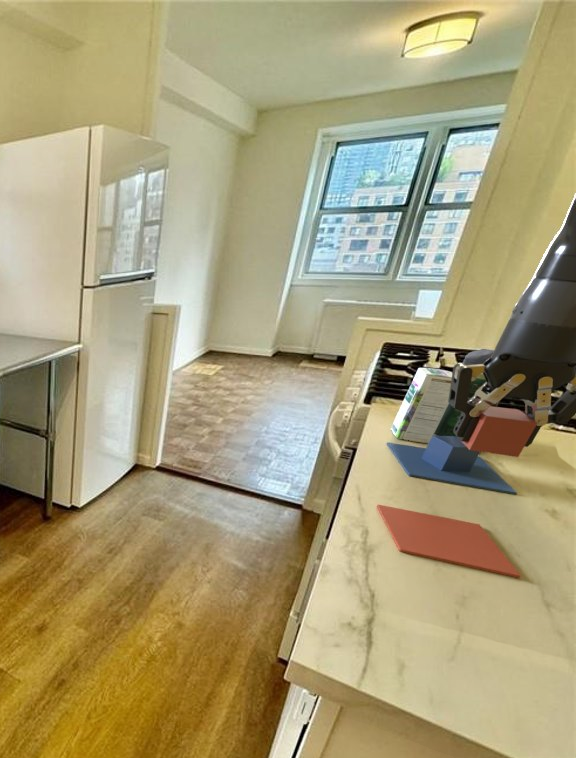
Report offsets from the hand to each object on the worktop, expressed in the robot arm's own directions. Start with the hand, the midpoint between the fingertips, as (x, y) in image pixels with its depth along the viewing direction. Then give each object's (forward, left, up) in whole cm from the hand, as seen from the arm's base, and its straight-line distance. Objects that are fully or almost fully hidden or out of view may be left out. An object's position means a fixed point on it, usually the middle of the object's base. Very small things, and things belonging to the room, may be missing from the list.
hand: (487, 443), depth 66 cm
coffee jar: (-16, -46, -15) cm, 51 cm away
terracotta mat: (0, +2, -15) cm, 15 cm away
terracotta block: (0, 0, 0) cm, 1 cm away
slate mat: (-9, -27, -15) cm, 32 cm away
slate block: (-9, -27, -15) cm, 32 cm away
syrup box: (-7, -41, -15) cm, 45 cm away
